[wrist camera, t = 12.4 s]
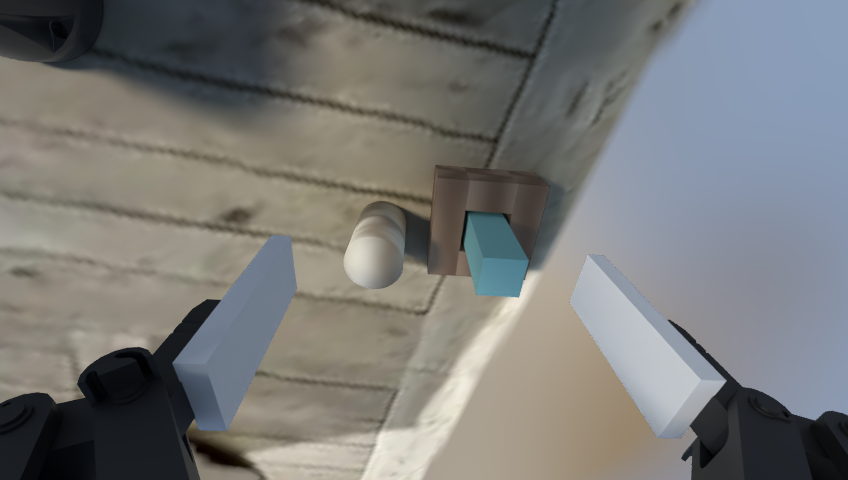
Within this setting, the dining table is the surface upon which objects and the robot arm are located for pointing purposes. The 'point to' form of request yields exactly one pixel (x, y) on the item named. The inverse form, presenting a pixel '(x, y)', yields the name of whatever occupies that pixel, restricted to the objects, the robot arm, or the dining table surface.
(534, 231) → the socket block
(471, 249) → the square bit
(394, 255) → the round dowel
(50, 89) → the dining table surface
